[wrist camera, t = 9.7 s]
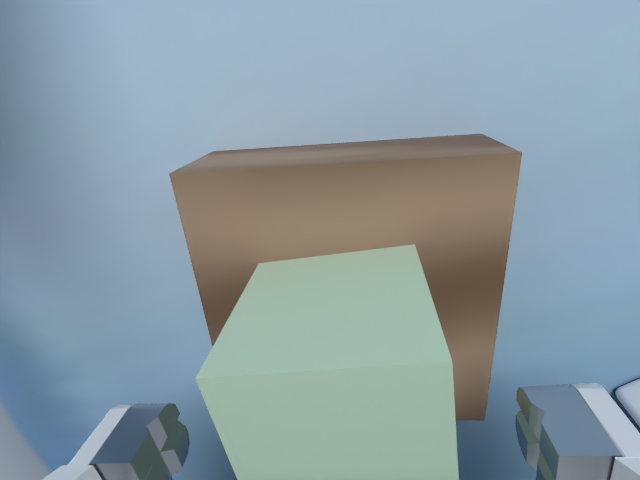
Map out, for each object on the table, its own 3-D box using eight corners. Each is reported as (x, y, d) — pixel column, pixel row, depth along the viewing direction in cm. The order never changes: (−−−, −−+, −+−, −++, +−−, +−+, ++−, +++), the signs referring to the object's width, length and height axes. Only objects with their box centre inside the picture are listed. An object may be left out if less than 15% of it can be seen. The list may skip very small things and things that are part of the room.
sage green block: (426, 370, 13) (461, 528, 8) (291, 378, 14) (256, 527, 9) (414, 244, 11) (452, 361, 6) (258, 263, 12) (195, 378, 7)
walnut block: (458, 348, 17) (484, 420, 14) (255, 347, 19) (229, 413, 15) (477, 132, 13) (522, 152, 10) (217, 149, 15) (169, 173, 11)
